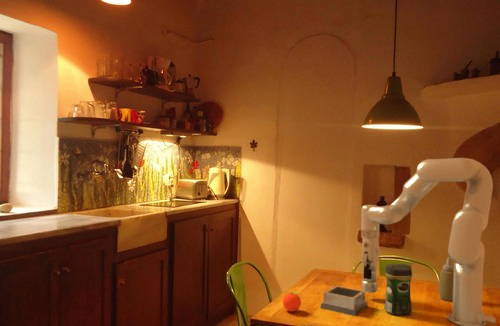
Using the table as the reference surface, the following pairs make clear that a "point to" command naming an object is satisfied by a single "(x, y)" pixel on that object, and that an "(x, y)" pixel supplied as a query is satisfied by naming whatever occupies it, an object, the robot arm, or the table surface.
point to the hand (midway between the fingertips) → (369, 276)
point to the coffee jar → (398, 289)
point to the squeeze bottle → (446, 281)
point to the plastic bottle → (370, 284)
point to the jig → (344, 300)
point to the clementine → (291, 302)
